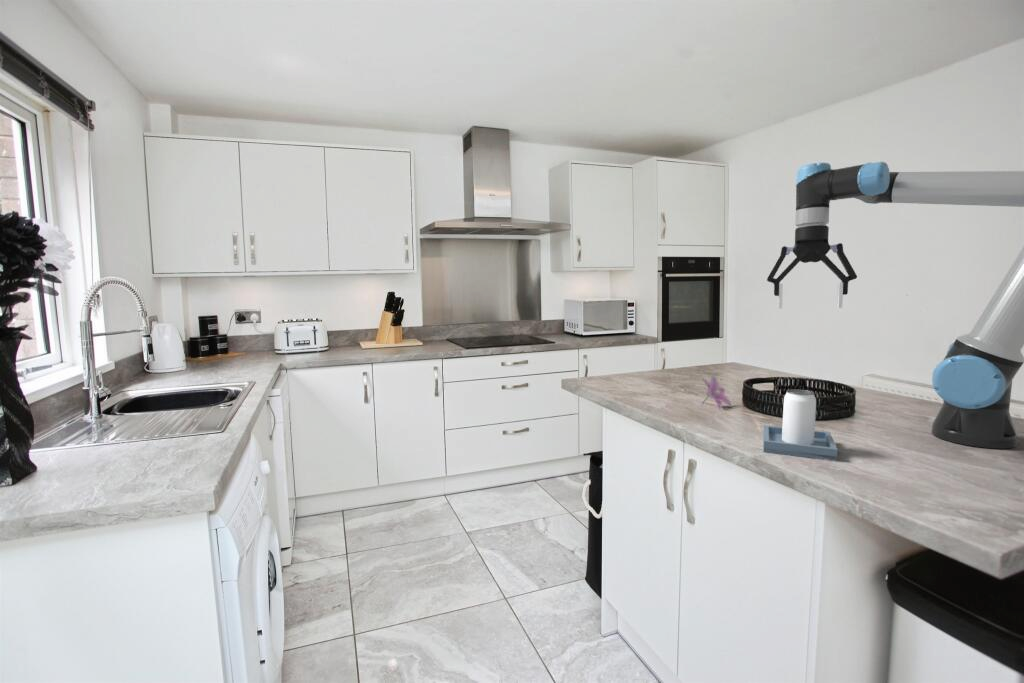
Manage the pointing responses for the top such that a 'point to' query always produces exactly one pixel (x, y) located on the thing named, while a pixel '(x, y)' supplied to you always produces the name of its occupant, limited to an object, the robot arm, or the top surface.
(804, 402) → the can
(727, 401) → the lily
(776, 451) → the tray
